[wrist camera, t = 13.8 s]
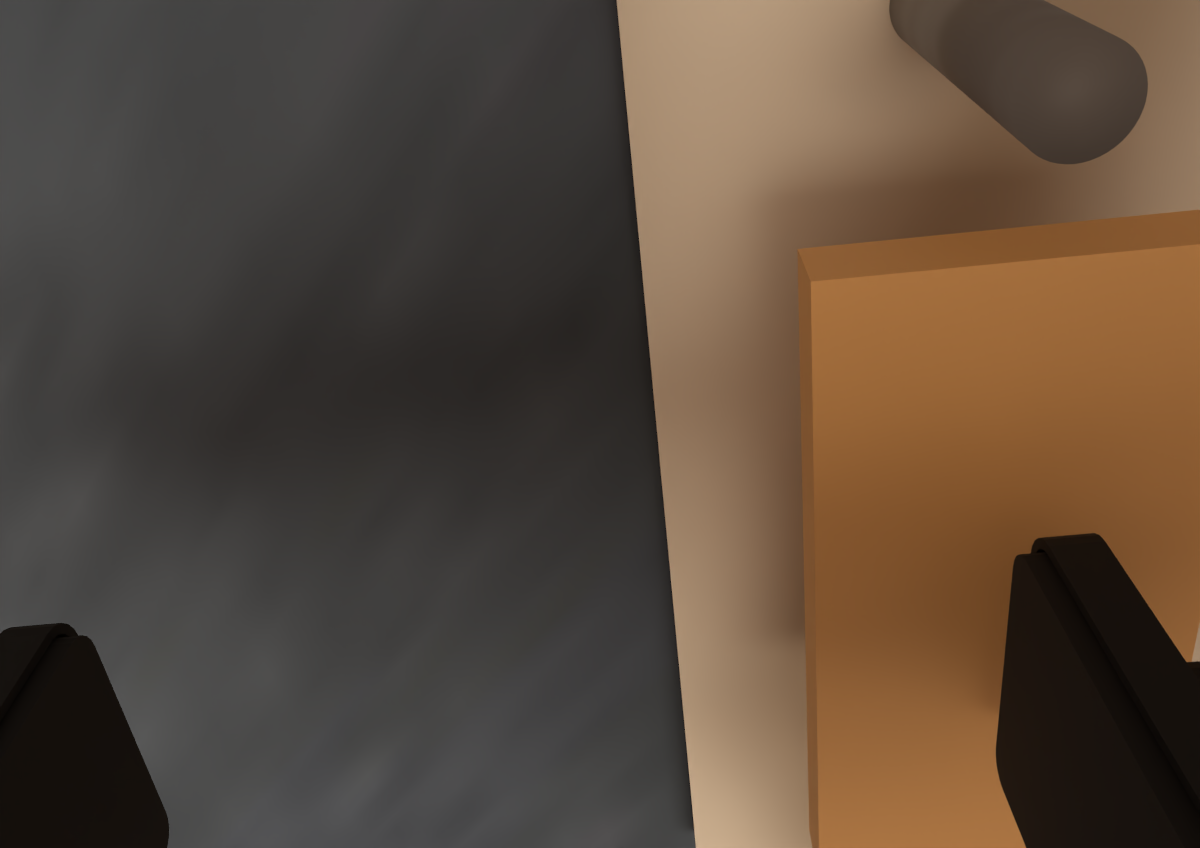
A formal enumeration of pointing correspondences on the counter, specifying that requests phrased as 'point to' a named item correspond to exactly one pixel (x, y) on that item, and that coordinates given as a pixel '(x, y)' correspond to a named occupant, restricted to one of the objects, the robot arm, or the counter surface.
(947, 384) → the latch plate
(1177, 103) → the rail mount
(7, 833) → the robot arm
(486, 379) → the counter surface
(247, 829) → the counter surface
